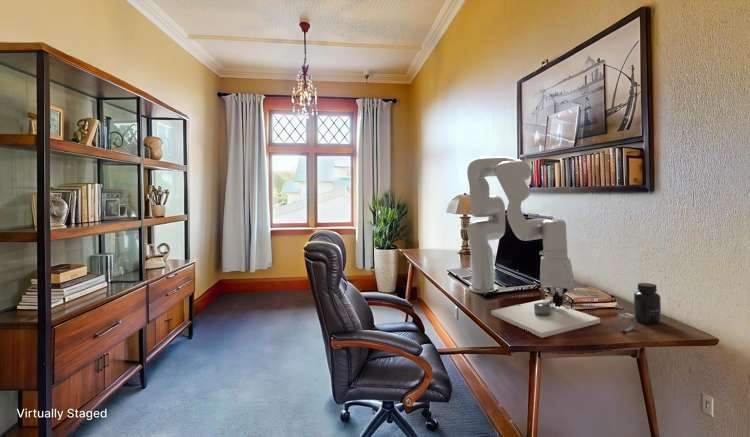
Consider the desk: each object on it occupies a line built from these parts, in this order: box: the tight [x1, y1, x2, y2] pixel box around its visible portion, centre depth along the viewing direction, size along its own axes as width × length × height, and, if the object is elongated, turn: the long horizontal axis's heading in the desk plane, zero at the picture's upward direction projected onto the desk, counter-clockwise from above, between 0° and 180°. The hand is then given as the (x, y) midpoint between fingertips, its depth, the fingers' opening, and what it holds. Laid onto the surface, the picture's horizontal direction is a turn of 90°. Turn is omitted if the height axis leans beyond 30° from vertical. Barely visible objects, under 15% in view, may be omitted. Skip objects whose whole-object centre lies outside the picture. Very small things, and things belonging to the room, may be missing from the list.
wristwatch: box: [616, 312, 637, 333], centre depth 109 cm, size 6×3×5 cm, turn 105°
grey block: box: [534, 295, 554, 316], centre depth 126 cm, size 12×5×3 cm, turn 138°
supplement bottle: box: [633, 282, 662, 326], centre depth 114 cm, size 7×7×12 cm
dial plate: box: [490, 299, 601, 339], centre depth 124 cm, size 24×24×2 cm
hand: (558, 305), depth 127 cm, fingers closed
